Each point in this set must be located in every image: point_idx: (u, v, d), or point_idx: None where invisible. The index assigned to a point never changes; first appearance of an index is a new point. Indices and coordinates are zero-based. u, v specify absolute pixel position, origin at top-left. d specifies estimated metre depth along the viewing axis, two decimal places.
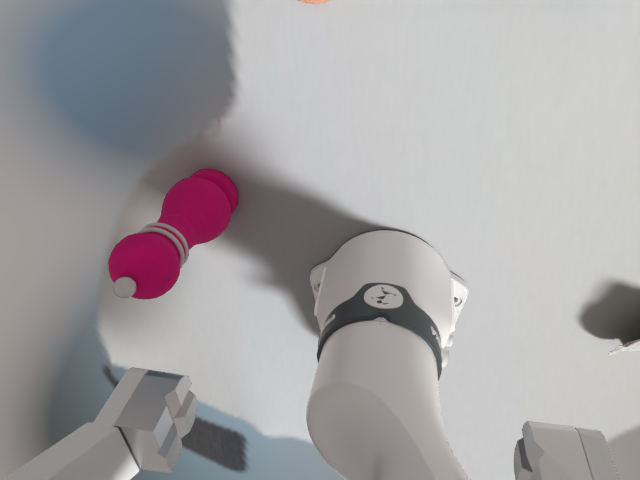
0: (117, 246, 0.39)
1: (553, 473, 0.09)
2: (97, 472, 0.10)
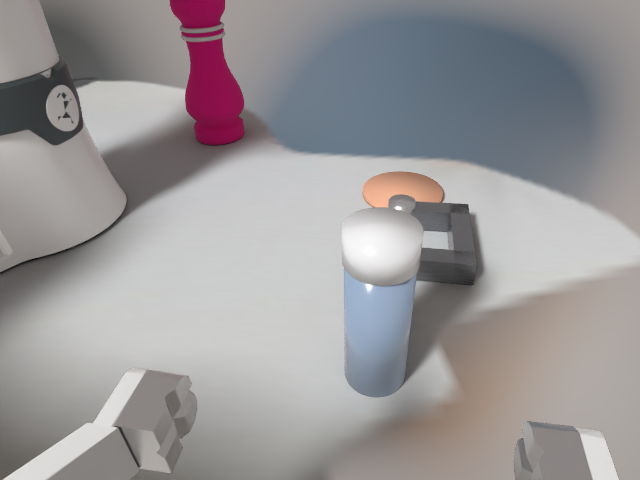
0: None
1: (553, 473, 0.09)
2: (97, 472, 0.10)
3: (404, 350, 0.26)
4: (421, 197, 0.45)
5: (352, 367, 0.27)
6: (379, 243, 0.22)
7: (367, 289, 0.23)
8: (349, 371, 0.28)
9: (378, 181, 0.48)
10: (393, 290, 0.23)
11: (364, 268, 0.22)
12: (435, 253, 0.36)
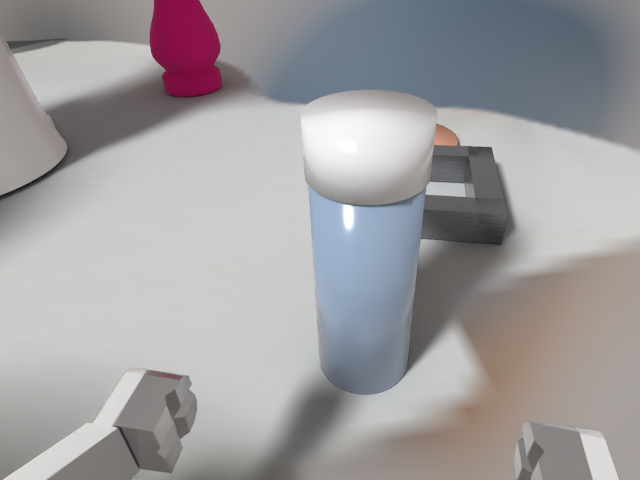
0: None
1: (553, 473, 0.09)
2: (97, 472, 0.10)
3: (405, 322, 0.17)
4: None
5: (327, 348, 0.18)
6: (361, 128, 0.13)
7: (343, 214, 0.14)
8: (323, 356, 0.19)
9: None
10: (386, 214, 0.14)
11: (336, 173, 0.13)
12: (450, 201, 0.26)
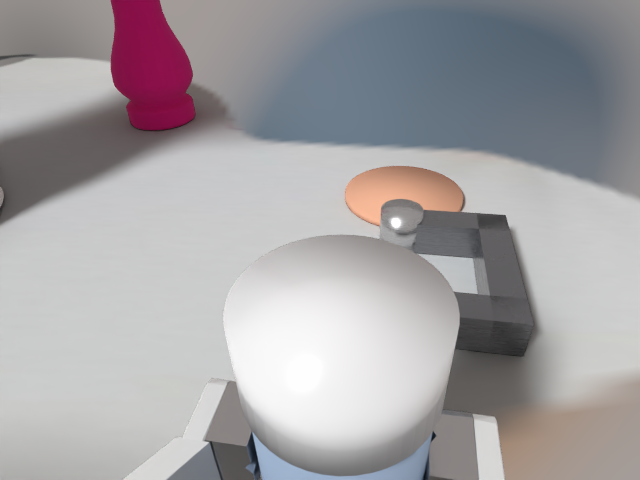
0: None
1: (440, 456, 0.09)
2: None
3: None
4: (431, 203, 0.31)
5: None
6: (324, 356, 0.07)
7: (298, 475, 0.08)
8: None
9: (368, 179, 0.34)
10: (370, 479, 0.08)
11: (280, 430, 0.07)
12: (459, 301, 0.21)
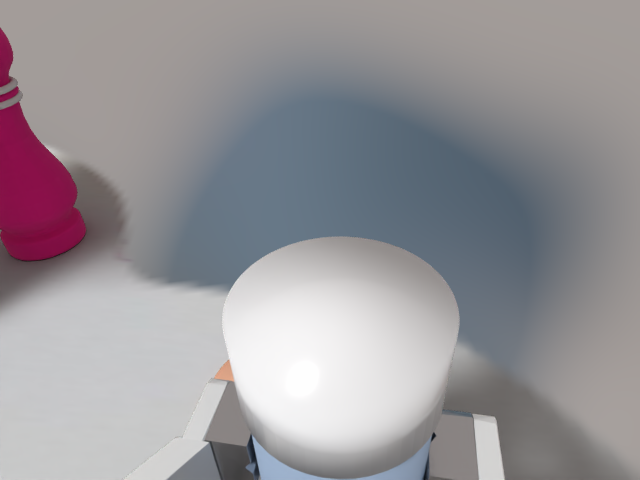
0: (1, 31, 0.32)
1: (441, 456, 0.09)
2: None
3: None
4: None
5: None
6: (323, 358, 0.07)
7: (297, 477, 0.08)
8: None
9: None
10: None
11: (279, 432, 0.07)
12: None
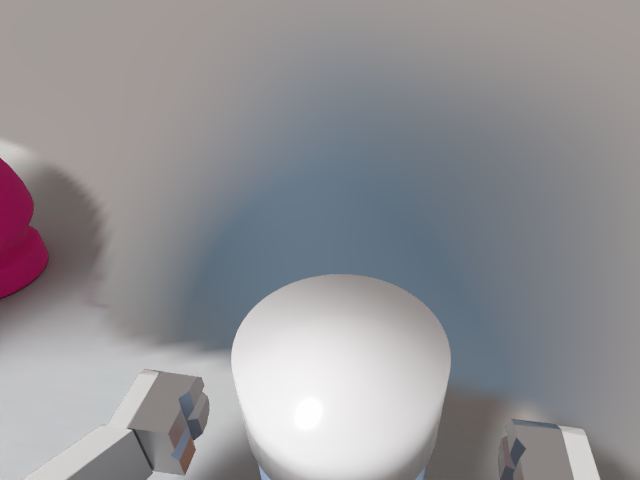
0: None
1: (534, 470, 0.09)
2: (111, 475, 0.10)
3: None
4: None
5: None
6: (325, 399, 0.08)
7: None
8: None
9: None
10: None
11: (284, 466, 0.08)
12: None
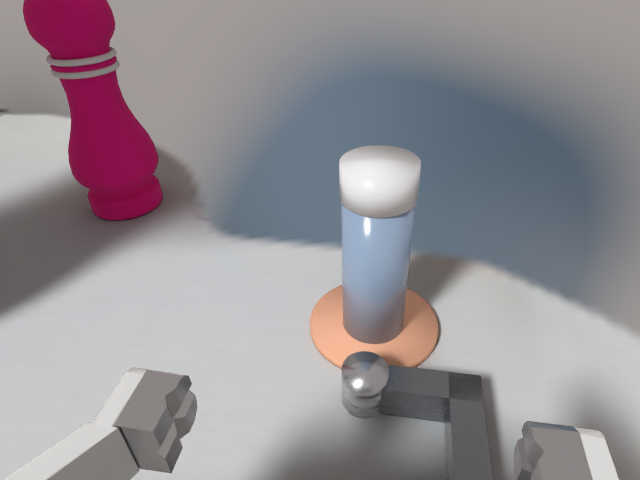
0: (107, 2, 0.35)
1: (553, 473, 0.09)
2: (97, 472, 0.10)
3: (402, 293, 0.26)
4: (402, 338, 0.28)
5: (350, 312, 0.27)
6: (376, 173, 0.22)
7: (365, 223, 0.23)
8: (346, 318, 0.28)
9: (337, 300, 0.31)
10: (390, 223, 0.23)
11: (361, 199, 0.22)
12: None
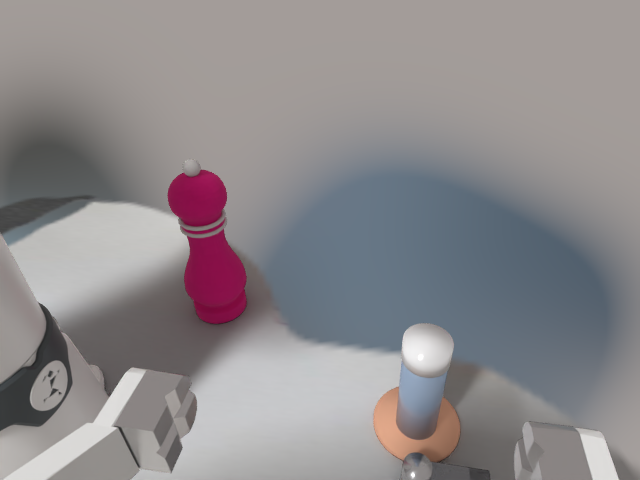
0: None
1: (553, 473, 0.09)
2: (97, 472, 0.10)
3: (438, 411, 0.41)
4: (437, 435, 0.42)
5: (403, 420, 0.41)
6: (427, 353, 0.36)
7: (418, 379, 0.37)
8: (400, 422, 0.42)
9: (390, 403, 0.45)
10: (435, 379, 0.37)
11: (418, 368, 0.36)
12: None
